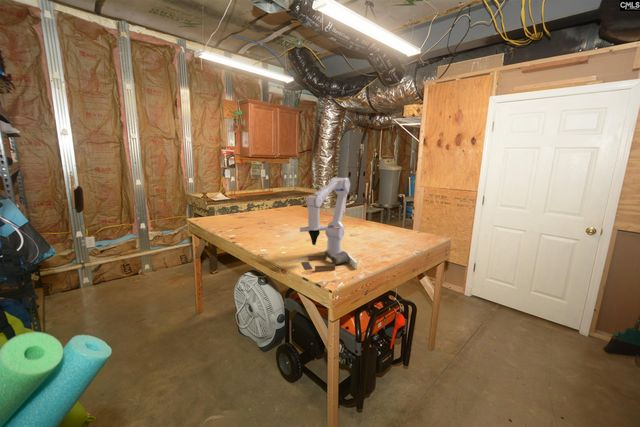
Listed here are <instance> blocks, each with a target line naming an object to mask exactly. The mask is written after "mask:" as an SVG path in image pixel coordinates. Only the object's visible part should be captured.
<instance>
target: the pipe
mask: <svg viewBox="0 0 640 427" xmlns="http://www.w3.org/2000/svg"><path fill="white" fill-rule="evenodd" d="M326 250H327V249H326ZM326 250H325V251H324V254H325V255H326V256H327V258H328V259H329V260H330V261H331V263H332V265H333V264H335V265H340V264H344V263H349V261H350V258H349V255H350V254H349V253H348V252H347V251H346V250H345V251H346V252H347V253H348V254H349V255H348V254H347V253H346V252H345V251H343V250H342V251H341V252H340V253H338V254H336V255H335V254H333V253H332V252H331V251H329V250H327V251H326Z"/></svg>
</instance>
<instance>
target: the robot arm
mask: <svg viewBox="0 0 640 427" xmlns="http://www.w3.org/2000/svg"><path fill="white" fill-rule="evenodd" d="M350 188H351V182H350V179H349V178H348V177H332V178H331V179H330V180H329V183H328V184H327V185H325V187H319V188H318V190H316V192H314V193H313V194H312V195H308V197H306V200H305V204H306V206H307V208H306V209H307V213H308V214H307V215H308V217H307V218H308V226H304V227H299V232H300V233H302V232H304V233H305V232H308V234H309V236H310V240H311V244H312V246H316V245H317V240H318V237H319V236H320V233H321V232H323V231H325V236H326V237H327V240H326V241H327V242H326V243H327V244H326V250H325V251H327V250H329V251H331V252H332V253H333V254H335V255H336V254H338V253H340V252H341V250H342V239H343V238H344V236H345V226H344V224H343V223H342V220H343V217H344V211H345V207H346V202H347V198H348V194H349V193H350ZM332 191H334V193H336V194H337V197H336V203H335V207H334V211H333V215H332V221H330V222H328V224H327V225H322V226H321V225H320V207H322V204H323V202H324V201H326V199H327V198H328V197H329V193H331V192H332Z"/></svg>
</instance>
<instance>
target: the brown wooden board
mask: <svg viewBox="0 0 640 427" xmlns="http://www.w3.org/2000/svg"><path fill="white" fill-rule="evenodd" d="M327 258H328V257H327V256H326V255H325V253H324V254H312V255H311V254H310V255H308V261H319V260H327ZM325 271H336V264H333V263H332V264H324V265H323V264H322V265H315V266H314V272H325Z"/></svg>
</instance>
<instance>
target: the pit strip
mask: <svg viewBox="0 0 640 427" xmlns="http://www.w3.org/2000/svg"><path fill="white" fill-rule="evenodd" d="M301 265H302V266H303V268H304V270H306V271H307V270H313V267H312V265H311V264H310V262H309V261H302V262H301Z"/></svg>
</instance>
